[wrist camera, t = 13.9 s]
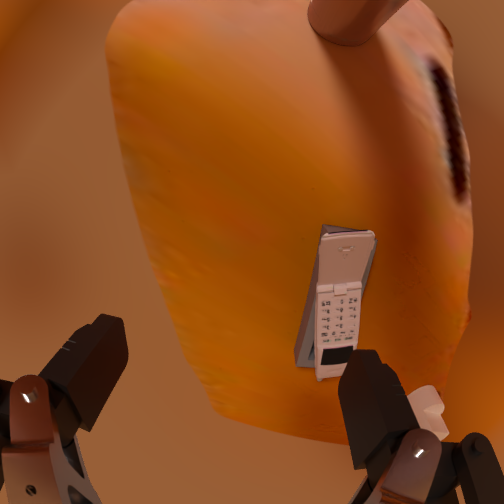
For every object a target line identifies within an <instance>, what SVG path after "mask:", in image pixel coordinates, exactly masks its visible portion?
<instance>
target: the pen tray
mask: <svg viewBox="0 0 504 504" xmlns="http://www.w3.org/2000/svg"><path fill="white" fill-rule="evenodd" d="M353 230H356V229H350V228H344V227H338V226H331V225H324V224H323V225H322V230H321V235H320V240H319V245H321V238H322V236H323V235H324V234H326V233H331V232H339V231H353ZM374 241H375V243H374V247H373V249H372V250H371V252H370V256H369V259H368V262H367V265H366V268H365V272H364V275H363V278H362V281H361V284H362V288H361V298H362V295H363V291H364V288H365V285H366V281H367V278H368V275H369V271H370V267H371V264H372V260H373V256H374V253H375V249H376V245H377V241H378V240H377V239H376V238H374ZM319 245H318V250H317V255H316V260H315V265H314V269H313V274H312V279H311V283H310V287H309V292H308V296H307V300H306V305H305V309H304V313H303V317H302V321H301V325H300V329H299V333H298V337H297V341H296V344H295V348H294V354H295V363H296V366H297V367H314V368H315V351H314V335H315V302H316V284H317V282H318V274H319V256H320V254H319Z"/></svg>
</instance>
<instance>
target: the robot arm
mask: <svg viewBox="0 0 504 504" xmlns="http://www.w3.org/2000/svg"><path fill="white" fill-rule="evenodd" d="M407 1H409V0H311V1H310V4H309V8H308V14H307V15H308V20H309V22H310V24H311V26H312V27H313V28H314V30H315V31H316V32H317V33H318V34H319V35H321V36H322V37H324V38H325V39H327V40H329V41H331V42H333V43H336V44H339V45H344V46H355V45H360V44H362V43H364V42H366V41H367V40H368V39H369V38H370V37H371V36H372V35H373V34H374V33H375V32H376V31H377V30H378V29H379V28H380V27H381V26H382V25H383V24H384V23H385V22H386V21H387V20H388V19H389V18H391V17H392V16H393V15H394V14H395V13H396V12H397V11H398V10H399V9H400V8H401V7H402V6H403V5H404V4H405V3H406V2H407ZM127 362H128V346H127V341H126V335H125V329H124V323H123V320H122V319H121V318H119V317H115V316H111V315H106V314H100V315H99V316H98V317H97V318H96V320H95V321H94V322H93V323H92V324H91V325H90V324H87V325H85V326H83V327H81V328H80V329H78V330H76V331H75V332H74V334H73V335H72V336H71V337H70V338H69V341H67V342H66V343H65V344H64V345H63V346H62V348H61V349H60V350H59V351H58V352H57V353H56V354H55V356H54V357H53V358H52V359H51V360H50V361H49V363H48V364H47V365H46V366H45V367H44V369H43V370H42V371H41V372H40V374H39V375H38V376H37V375H24V376H22V377H20V378H18V379H17V380H16V381H15V382H10V381H6V380H1V379H0V490H1V488H2V486H3V483H4V481H5V486H6V492H7V497H8V502H9V504H102V502H101V500H100V498H99V497H98V495H97V493H96V491H95V490H94V488H93V486H92V485H91V483H90V480H89V477H88V474H87V471H86V468H85V465H84V461H83V458H82V455H81V451H80V447H79V444H78V439H77V436H76V432H77V430H78V428H81V429H84V430H86V431H88V432H90V431H91V429H92V427H93V425H94V424H95V422H96V420H97V418H98V416H99V414H100V412H101V410H102V408H103V407H104V405H105V403H106V401H107V399H108V397H109V396H110V394H111V392H112V390H113V388H114V387H115V385H116V383H117V381H118V379H119V378H120V376H121V374H122V372H123V371H124V369H125V367H126V365H127ZM338 396H339V400H340V404H341V409H342V413H343V418H344V422H345V427H346V431H347V436H348V440H349V445H350V450H351V455H352V460H353V465H354V469H355V470H357V469H365V468H366V469H367V474H368V475H367V476H366V477H365V478H364V480H363V481H362V483H361V484H360V486H359V488H358V489H357V491H356V492H355V494H354V495H353V497H352V499H351V500H350V502H349V503H348V504H459V501H458V498H457V494H456V490H455V488H456V487H458V486H459V485H461V488H462V492H463V496H464V499H465V503H466V504H504V475H503V473H502V470H501V467H500V465H499V462H498V460H497V457H496V455H495V452H494V450H493V448H492V445H491V443H490V441H489V440H488V439H487V438H486V437H485V436H484V435H482V434H480V433H476V432H475V433H470V434H468V435H467V436H466V437H465V438H464V439H463V440H462V441H461V442H460V443H454V442H440V440H439V438H438V437H437V436H436V435H435V434H434V433H433V432H431V431H429V430H427V429H422V428H420V426H419V423H418V421H417V419H416V416H415V414H414V412H413V409H412V407H411V405H410V402H409V400H408V398H407V396H406V395H405V391H404V389H403V387H402V386H401V383H400V381H399V379H398V376H397V374H396V373H395V372H394V371H393V370H392V369H391V368H390V367H389V366H388V365H387V364H382V362H381V360H380V358H379V356H378V354H377V352H376V351H375V350H361V349H355V350H353V351H352V353H351V355H350V358H349V360H348V362H347V365H346V367H345V369H344V372H343V374H342V376H341V379H340V381H339V386H338Z"/></svg>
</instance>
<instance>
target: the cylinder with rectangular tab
mask: <svg viewBox="0 0 504 504" xmlns="http://www.w3.org/2000/svg"><path fill="white" fill-rule="evenodd" d="M407 398H408V400H409V402H410V405H411V407H412V409H413V412H414V414H415V416H416V419H417V421H418V423H419V426H420V428H422V429H427V430H429V431H431V432H433V433H434V434H435V435H436V436H437V437H438V438H439V440H440V441H441V440H442V439H443V438H445V437H446V436H447V435H448V434H449V432H448V430H447V427H446V425H445V423H444V421H443V419H442V417H441V414H442V412H443V410H444V404H443V402H442V400H441V398H440V396H439V395H438V393H437V391H436V389H435V387H434V386H431V385H427V386H423V387H420V388H418V389H416V390H415V391H413V392H412V393H411V394H409V395H408V396H407Z"/></svg>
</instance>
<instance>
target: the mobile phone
mask: <svg viewBox="0 0 504 504" xmlns="http://www.w3.org/2000/svg"><path fill="white" fill-rule="evenodd" d="M374 237H375V234H374V232H372V231H371V230H353V231H339V232H331V233H326V234H324V235H323V236H322V238H321V245H319V254H320V256H319V274H318V282H317V284H316V302H315V335H314V351H315V373H316V376H317V381H322V378H328V377H336V376H342V374H343V372H344V369H345V367H346V365H347V362H348V360H349V358H350V355H351V353H352V351H353V350H355V349H357V341H358V333H359V323H360V306H361V288H362V284H361V281H362V278H363V275H364V272H365V268H366V265H367V262H368V259H369V256H370V252H371V250H372V249H373V247H374V243H375V241H374Z"/></svg>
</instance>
